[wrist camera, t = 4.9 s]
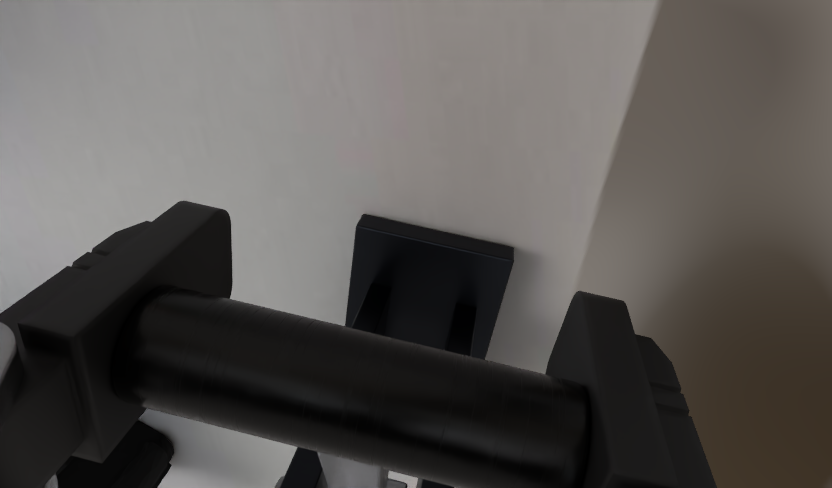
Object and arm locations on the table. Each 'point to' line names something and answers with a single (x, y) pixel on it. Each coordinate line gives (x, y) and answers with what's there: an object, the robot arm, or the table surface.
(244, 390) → the lever
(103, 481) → the film camera
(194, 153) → the table surface
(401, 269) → the bracket
